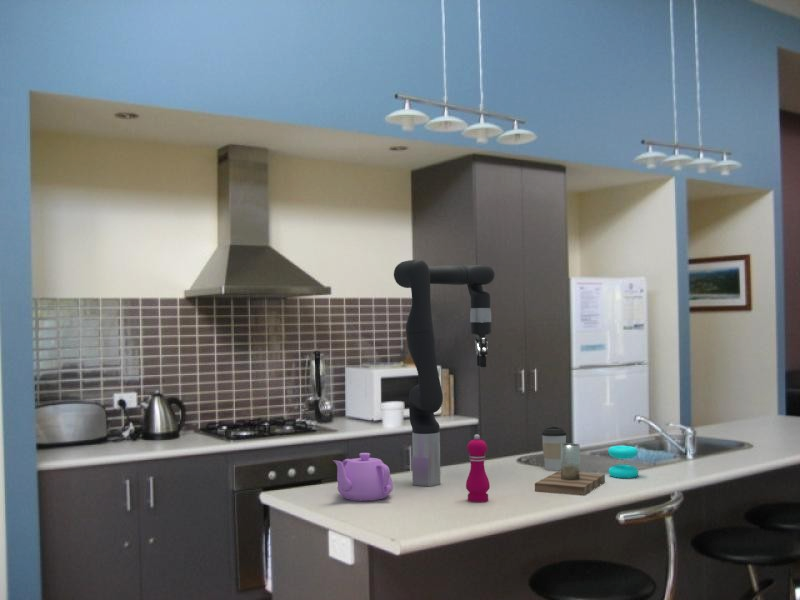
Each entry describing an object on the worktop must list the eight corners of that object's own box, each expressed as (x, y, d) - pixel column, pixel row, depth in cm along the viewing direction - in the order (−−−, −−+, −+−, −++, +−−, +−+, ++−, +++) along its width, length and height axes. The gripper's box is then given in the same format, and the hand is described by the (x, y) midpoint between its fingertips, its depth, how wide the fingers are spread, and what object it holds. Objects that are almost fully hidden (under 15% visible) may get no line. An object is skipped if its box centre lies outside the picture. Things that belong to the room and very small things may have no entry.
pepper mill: (474, 496, 266) (473, 432, 267) (494, 499, 262) (493, 433, 262) (461, 500, 261) (460, 434, 261) (481, 503, 256) (480, 436, 257)
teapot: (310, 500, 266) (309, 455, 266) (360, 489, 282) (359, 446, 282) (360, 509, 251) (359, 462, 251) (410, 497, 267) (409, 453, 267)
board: (584, 495, 266) (583, 487, 266) (534, 491, 274) (534, 483, 274) (604, 481, 287) (604, 474, 287) (558, 478, 295) (558, 471, 295)
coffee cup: (567, 471, 308) (566, 429, 308) (541, 471, 309) (540, 429, 310) (567, 467, 317) (566, 426, 317) (542, 466, 318) (541, 426, 319)
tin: (575, 480, 276) (575, 446, 277) (558, 478, 280) (558, 444, 280) (582, 478, 281) (582, 444, 282) (565, 476, 285) (565, 442, 285)
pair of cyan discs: (637, 445, 301) (638, 449, 291) (637, 474, 301) (639, 479, 291) (607, 444, 303) (608, 449, 294) (608, 473, 303) (608, 478, 293)
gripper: (468, 321, 314) (468, 365, 314) (472, 321, 300) (473, 367, 299) (488, 320, 314) (489, 365, 314) (493, 320, 300) (494, 367, 300)
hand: (481, 366), depth 307 cm, fingers open, 8 cm apart
